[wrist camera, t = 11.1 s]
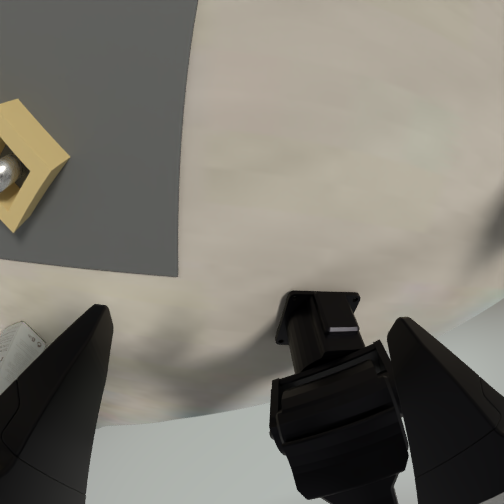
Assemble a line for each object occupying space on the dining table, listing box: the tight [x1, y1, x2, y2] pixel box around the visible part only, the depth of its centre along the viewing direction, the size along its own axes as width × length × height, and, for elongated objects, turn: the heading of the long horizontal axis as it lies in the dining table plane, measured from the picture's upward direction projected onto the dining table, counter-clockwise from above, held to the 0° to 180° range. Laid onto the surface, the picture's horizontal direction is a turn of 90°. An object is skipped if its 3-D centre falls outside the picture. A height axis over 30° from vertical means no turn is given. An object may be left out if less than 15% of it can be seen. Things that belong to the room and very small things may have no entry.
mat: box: [0, 0, 198, 277], centre depth 14 cm, size 24×25×1 cm
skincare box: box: [0, 322, 46, 395], centre depth 21 cm, size 6×4×12 cm
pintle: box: [0, 152, 29, 193], centre depth 14 cm, size 2×2×3 cm
